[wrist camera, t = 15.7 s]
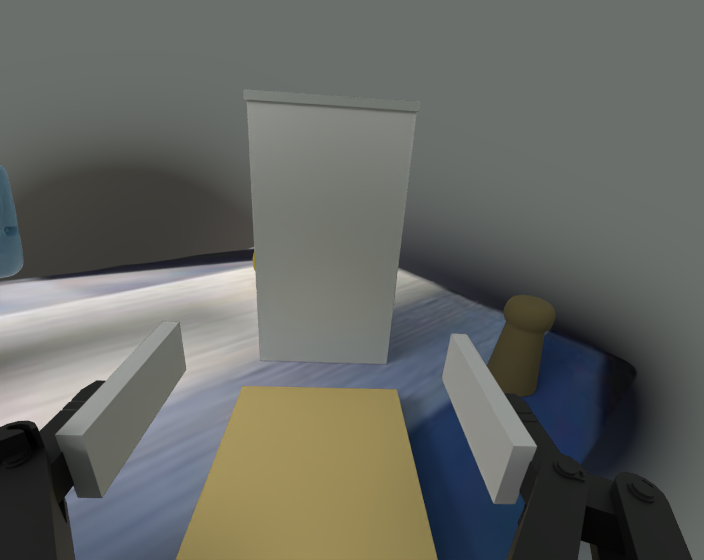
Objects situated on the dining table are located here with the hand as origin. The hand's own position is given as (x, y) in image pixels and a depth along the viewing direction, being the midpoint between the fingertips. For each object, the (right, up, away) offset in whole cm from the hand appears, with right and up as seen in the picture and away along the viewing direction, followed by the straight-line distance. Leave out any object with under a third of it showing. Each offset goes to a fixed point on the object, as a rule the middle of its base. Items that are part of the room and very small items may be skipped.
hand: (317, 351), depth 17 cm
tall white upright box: (-2, -4, +34) cm, 34 cm away
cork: (+21, -9, +26) cm, 35 cm away
